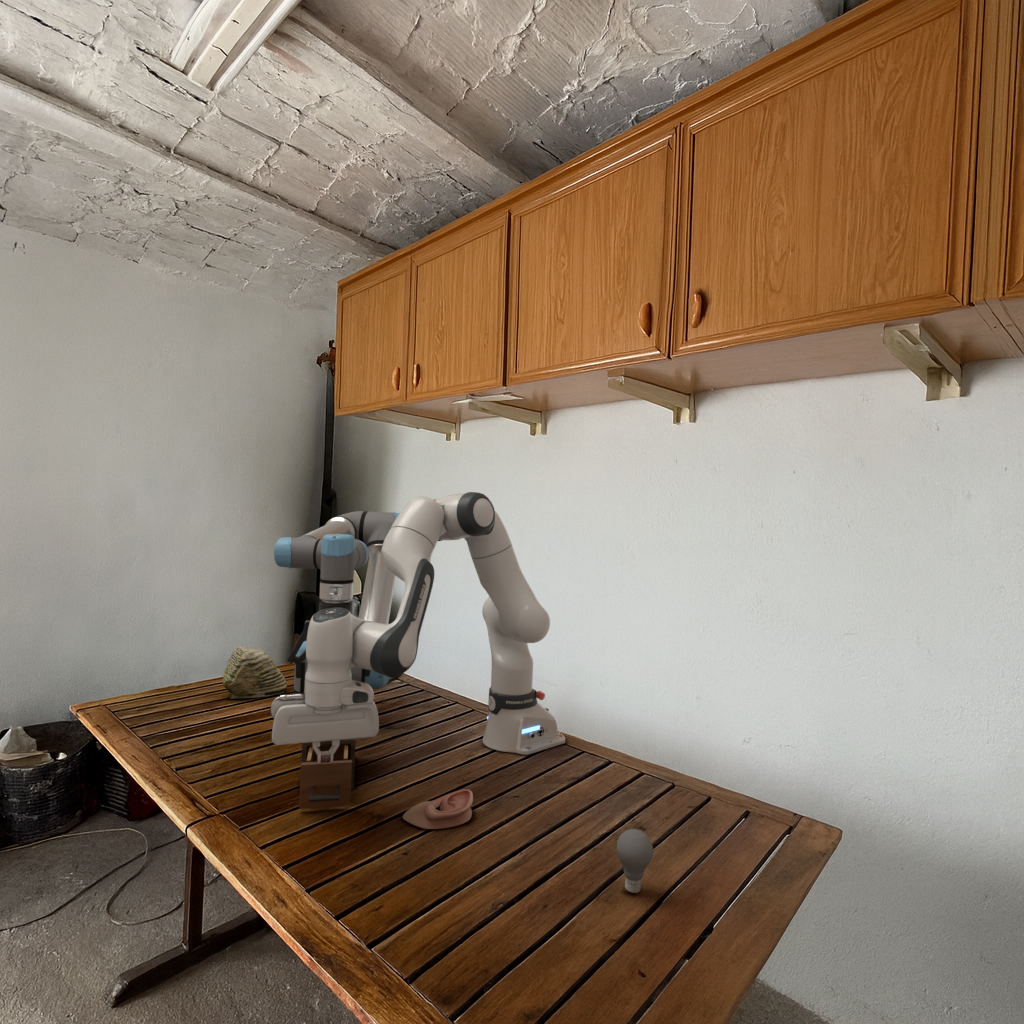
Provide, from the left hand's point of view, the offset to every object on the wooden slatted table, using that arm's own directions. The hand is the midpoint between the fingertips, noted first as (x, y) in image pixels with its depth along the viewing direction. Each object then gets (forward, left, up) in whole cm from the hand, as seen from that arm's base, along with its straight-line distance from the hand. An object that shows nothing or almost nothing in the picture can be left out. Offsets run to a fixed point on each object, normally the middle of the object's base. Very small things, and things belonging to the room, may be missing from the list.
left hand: (332, 691), depth 148 cm
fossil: (-15, -61, -18) cm, 65 cm away
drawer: (+10, +13, -17) cm, 24 cm away
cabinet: (+2, +3, -18) cm, 18 cm away
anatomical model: (-1, +35, -18) cm, 39 cm away
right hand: (+15, +19, -7) cm, 25 cm away
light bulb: (-6, +76, -18) cm, 78 cm away
